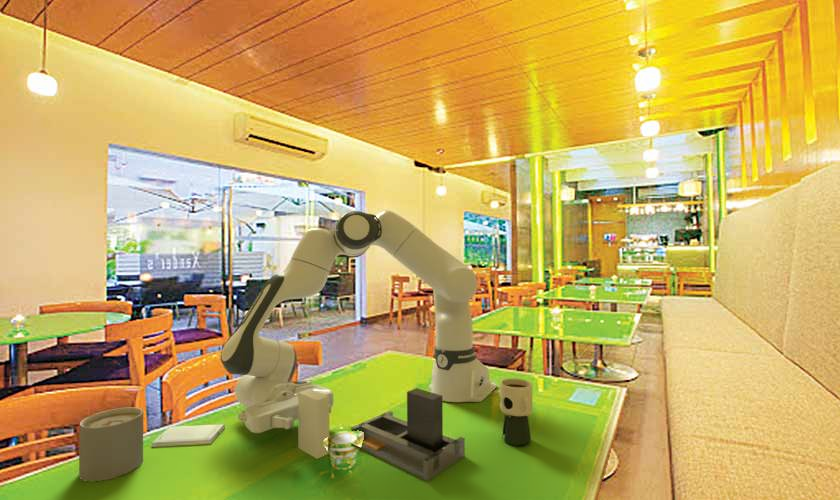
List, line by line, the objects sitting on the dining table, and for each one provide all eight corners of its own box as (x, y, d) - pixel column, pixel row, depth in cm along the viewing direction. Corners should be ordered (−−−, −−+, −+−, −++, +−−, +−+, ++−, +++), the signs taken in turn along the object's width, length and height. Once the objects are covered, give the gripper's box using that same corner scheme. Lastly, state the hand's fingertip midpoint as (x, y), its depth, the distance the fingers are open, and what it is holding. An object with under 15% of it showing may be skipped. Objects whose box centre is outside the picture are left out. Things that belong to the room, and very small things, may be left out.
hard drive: (151, 442, 86) (210, 438, 87) (170, 426, 94) (225, 422, 96) (151, 449, 86) (210, 446, 87) (170, 432, 94) (225, 429, 96)
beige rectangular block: (310, 442, 88) (310, 388, 88) (329, 453, 83) (329, 396, 83) (298, 447, 85) (298, 392, 85) (317, 458, 81) (317, 400, 81)
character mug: (491, 432, 92) (491, 376, 92) (519, 428, 94) (518, 374, 94) (513, 455, 82) (512, 392, 82) (543, 451, 83) (543, 389, 84)
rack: (390, 426, 96) (389, 371, 96) (464, 456, 81) (464, 392, 82) (351, 444, 87) (351, 384, 87) (427, 481, 72) (427, 409, 72)
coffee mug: (132, 476, 75) (132, 423, 75) (67, 486, 71) (68, 431, 72) (155, 444, 87) (155, 399, 87) (101, 451, 84) (101, 404, 84)
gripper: (233, 401, 86) (264, 417, 77) (313, 378, 102) (347, 390, 93) (233, 429, 86) (264, 450, 77) (313, 402, 102) (347, 417, 93)
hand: (310, 417), depth 85 cm, fingers open, 8 cm apart
